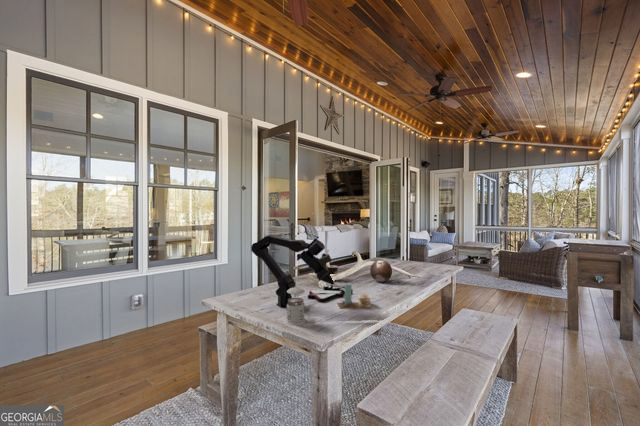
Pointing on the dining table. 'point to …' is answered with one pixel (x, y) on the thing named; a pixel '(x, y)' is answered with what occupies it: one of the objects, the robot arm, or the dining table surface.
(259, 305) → the dining table surface
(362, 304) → the rack
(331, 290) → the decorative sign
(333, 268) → the coffee mug
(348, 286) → the plank
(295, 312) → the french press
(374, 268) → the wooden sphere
